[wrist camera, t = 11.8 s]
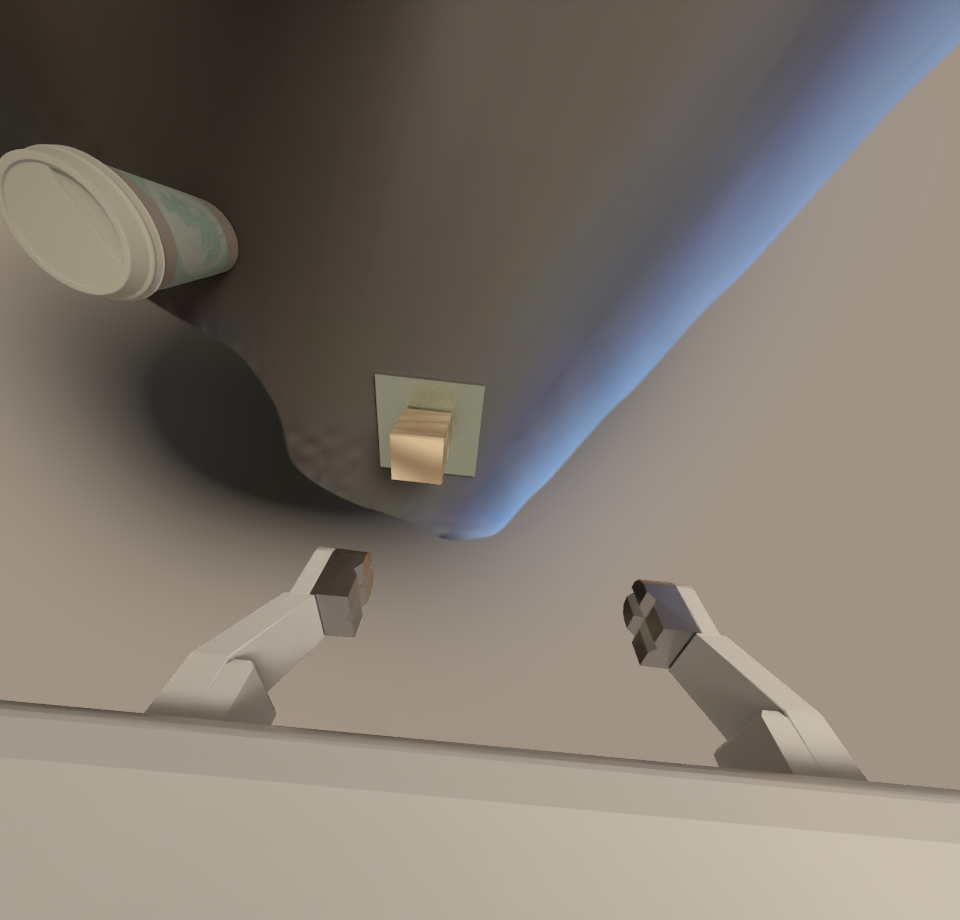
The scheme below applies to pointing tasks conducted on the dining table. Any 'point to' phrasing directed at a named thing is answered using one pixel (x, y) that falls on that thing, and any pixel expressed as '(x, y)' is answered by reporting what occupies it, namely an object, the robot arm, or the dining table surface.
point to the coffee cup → (109, 225)
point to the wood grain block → (420, 446)
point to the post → (432, 397)
